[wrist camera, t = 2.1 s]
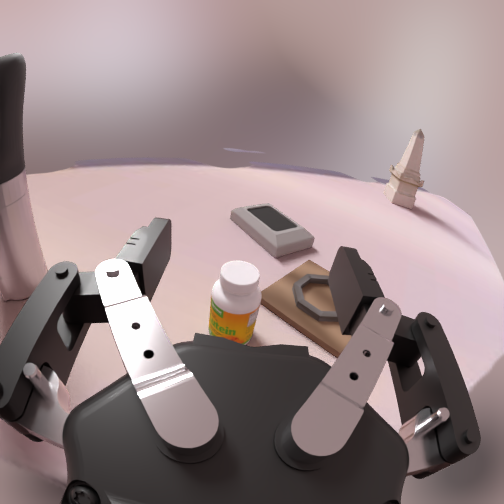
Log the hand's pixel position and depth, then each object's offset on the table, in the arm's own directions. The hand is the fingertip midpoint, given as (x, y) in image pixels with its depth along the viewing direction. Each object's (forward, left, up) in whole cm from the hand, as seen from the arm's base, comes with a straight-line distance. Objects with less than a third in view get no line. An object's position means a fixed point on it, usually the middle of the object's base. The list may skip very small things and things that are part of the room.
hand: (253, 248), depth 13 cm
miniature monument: (+97, +8, -20) cm, 100 cm away
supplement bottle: (+8, +7, -20) cm, 23 cm away
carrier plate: (+22, +2, -20) cm, 30 cm away
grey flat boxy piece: (+32, +20, -20) cm, 43 cm away
